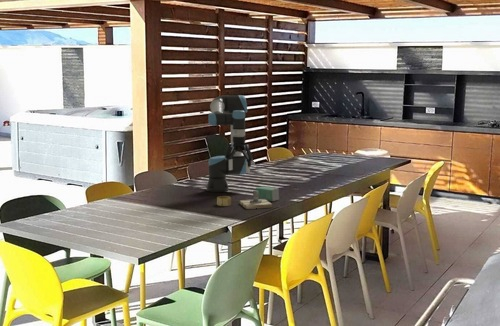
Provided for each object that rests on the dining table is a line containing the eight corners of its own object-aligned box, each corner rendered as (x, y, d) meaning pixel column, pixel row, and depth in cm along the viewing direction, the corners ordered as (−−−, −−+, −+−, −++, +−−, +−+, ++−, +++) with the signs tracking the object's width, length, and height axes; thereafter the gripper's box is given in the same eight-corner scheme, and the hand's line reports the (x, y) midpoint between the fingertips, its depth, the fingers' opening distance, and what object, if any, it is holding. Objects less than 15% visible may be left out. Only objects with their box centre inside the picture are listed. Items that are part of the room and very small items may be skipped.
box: (262, 196, 388) (262, 185, 386) (279, 199, 379) (279, 188, 378) (255, 198, 382) (255, 187, 381) (272, 201, 374) (272, 190, 372)
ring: (216, 203, 368) (215, 196, 367) (228, 202, 370) (228, 195, 369) (218, 206, 360) (218, 199, 360) (231, 205, 362) (231, 198, 362)
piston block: (239, 203, 368) (239, 189, 366) (264, 202, 372) (264, 187, 371) (246, 209, 352) (246, 194, 351) (272, 207, 357) (272, 192, 355)
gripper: (219, 135, 365) (219, 169, 368) (251, 137, 349) (251, 173, 352) (227, 134, 370) (227, 168, 373) (259, 136, 355) (259, 172, 358)
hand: (239, 171), depth 363 cm, fingers open, 13 cm apart
